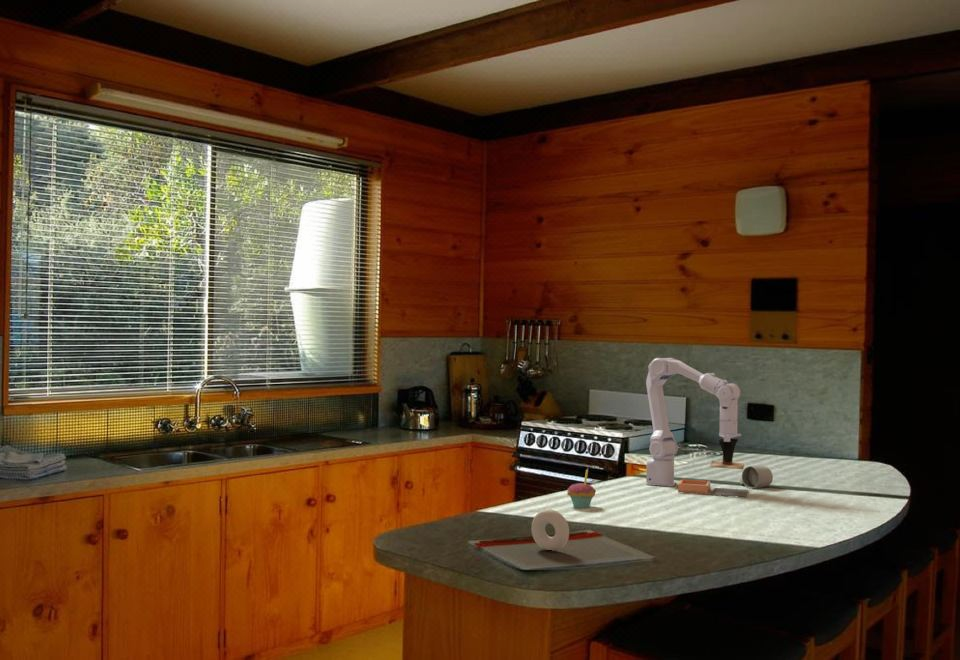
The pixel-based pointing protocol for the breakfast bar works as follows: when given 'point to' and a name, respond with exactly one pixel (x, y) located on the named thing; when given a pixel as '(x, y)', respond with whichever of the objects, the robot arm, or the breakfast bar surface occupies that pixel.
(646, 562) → the breakfast bar surface
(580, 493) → the cupcake
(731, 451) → the robot arm
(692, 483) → the dish
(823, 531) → the breakfast bar surface
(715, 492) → the mat
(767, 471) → the ceramic mug
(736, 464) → the lid
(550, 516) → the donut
